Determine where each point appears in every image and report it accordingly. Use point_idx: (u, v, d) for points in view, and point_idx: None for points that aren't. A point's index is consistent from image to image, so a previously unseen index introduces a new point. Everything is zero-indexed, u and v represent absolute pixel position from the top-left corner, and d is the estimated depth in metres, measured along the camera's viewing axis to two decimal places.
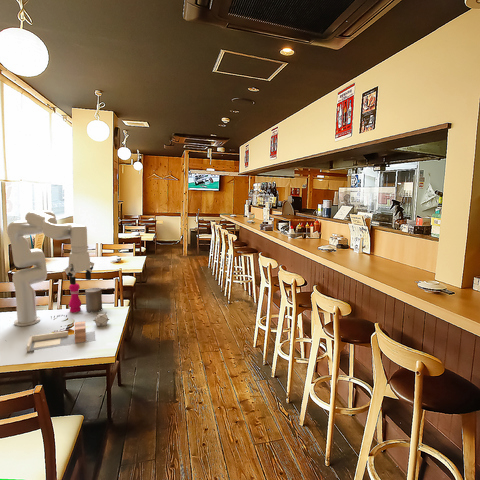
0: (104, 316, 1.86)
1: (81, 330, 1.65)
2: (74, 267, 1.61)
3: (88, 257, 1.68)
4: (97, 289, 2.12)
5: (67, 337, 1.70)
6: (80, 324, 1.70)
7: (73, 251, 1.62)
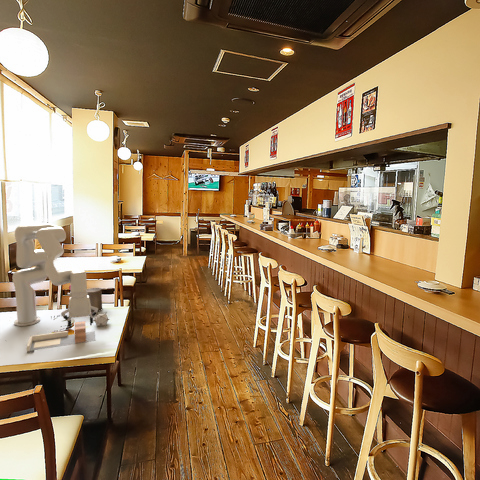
0: (104, 316, 1.86)
1: (81, 330, 1.65)
2: None
3: None
4: (97, 289, 2.12)
5: (67, 337, 1.70)
6: (80, 324, 1.70)
7: None
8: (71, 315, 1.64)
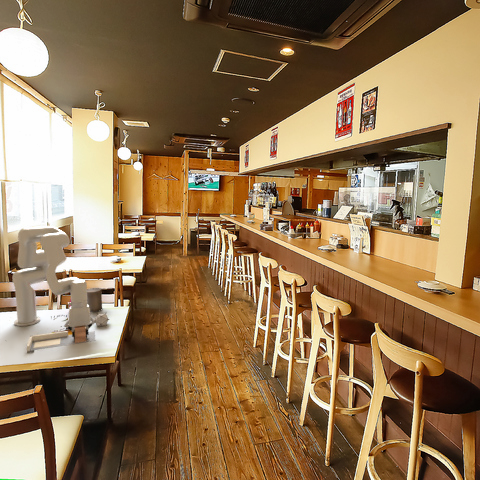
0: (104, 316, 1.86)
1: (81, 330, 1.65)
2: None
3: None
4: (97, 289, 2.12)
5: (67, 337, 1.70)
6: None
7: None
8: (71, 324, 1.65)
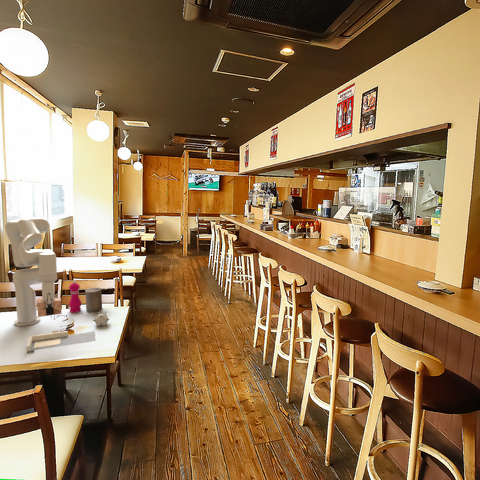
0: (104, 316, 1.86)
1: (37, 303, 1.58)
2: (52, 296, 1.57)
3: None
4: (97, 289, 2.12)
5: (67, 337, 1.70)
6: (51, 300, 1.61)
7: (48, 280, 1.56)
8: None
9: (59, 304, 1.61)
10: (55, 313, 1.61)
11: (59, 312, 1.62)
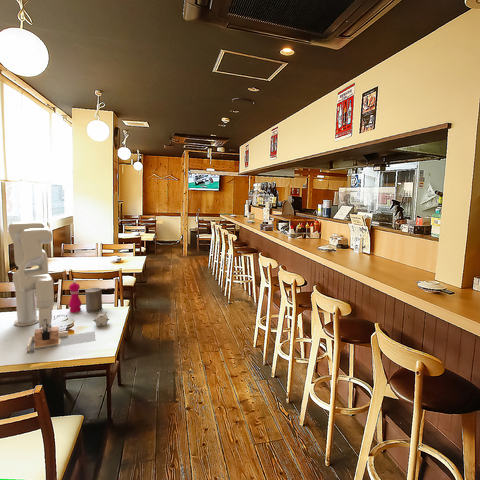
0: (104, 316, 1.86)
1: (34, 333, 1.60)
2: (49, 322, 1.58)
3: None
4: (97, 289, 2.12)
5: (67, 337, 1.70)
6: None
7: (44, 306, 1.57)
8: None
9: (56, 334, 1.63)
10: (52, 343, 1.62)
11: (56, 341, 1.63)
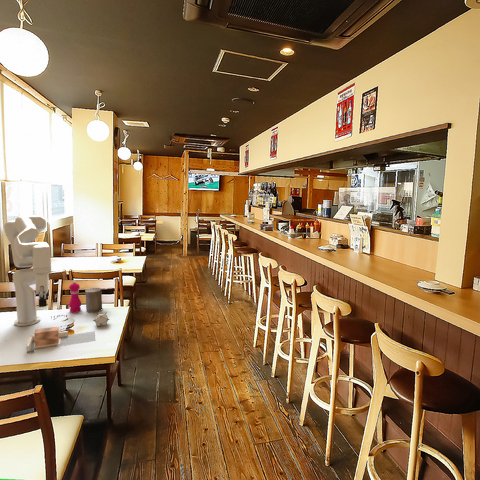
0: (104, 316, 1.86)
1: (34, 333, 1.60)
2: (45, 288, 1.57)
3: None
4: (97, 289, 2.12)
5: (67, 337, 1.70)
6: (48, 329, 1.63)
7: (41, 272, 1.56)
8: None
9: (56, 334, 1.63)
10: (52, 343, 1.62)
11: (56, 341, 1.63)
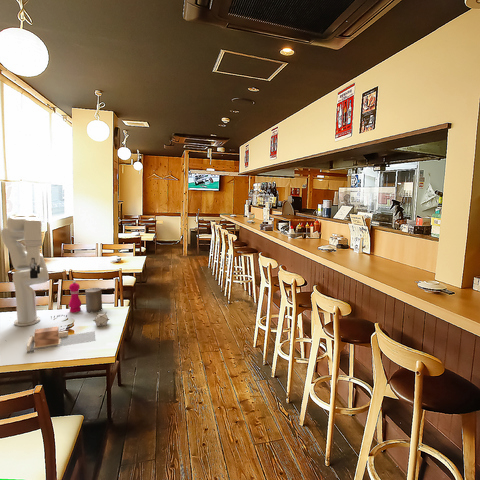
0: (104, 316, 1.86)
1: (34, 333, 1.60)
2: (36, 260, 1.63)
3: None
4: (97, 289, 2.12)
5: (67, 337, 1.70)
6: (48, 329, 1.63)
7: (32, 245, 1.62)
8: None
9: (56, 334, 1.63)
10: (52, 343, 1.62)
11: (56, 341, 1.63)
